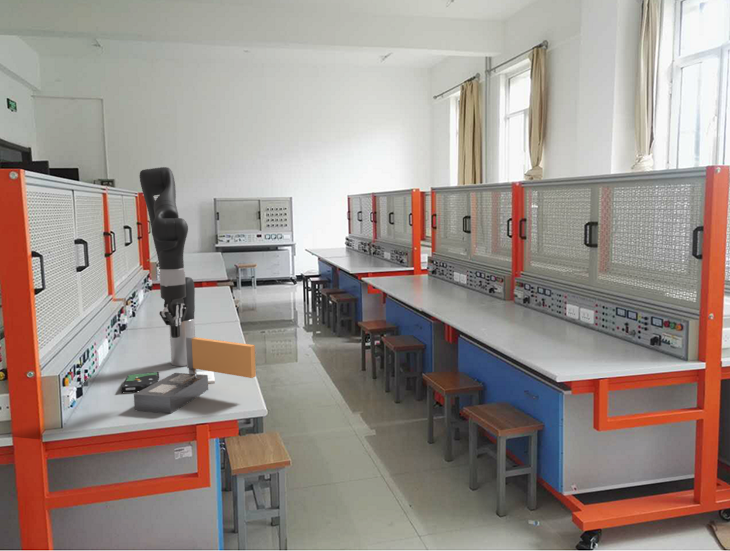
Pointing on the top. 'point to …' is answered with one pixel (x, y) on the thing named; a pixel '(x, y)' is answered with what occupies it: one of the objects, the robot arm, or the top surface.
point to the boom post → (192, 371)
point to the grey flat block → (170, 393)
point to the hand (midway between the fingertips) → (175, 337)
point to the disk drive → (139, 381)
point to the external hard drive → (210, 375)
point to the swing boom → (221, 356)
